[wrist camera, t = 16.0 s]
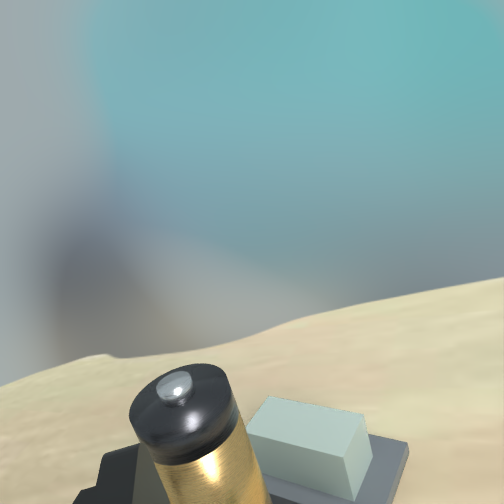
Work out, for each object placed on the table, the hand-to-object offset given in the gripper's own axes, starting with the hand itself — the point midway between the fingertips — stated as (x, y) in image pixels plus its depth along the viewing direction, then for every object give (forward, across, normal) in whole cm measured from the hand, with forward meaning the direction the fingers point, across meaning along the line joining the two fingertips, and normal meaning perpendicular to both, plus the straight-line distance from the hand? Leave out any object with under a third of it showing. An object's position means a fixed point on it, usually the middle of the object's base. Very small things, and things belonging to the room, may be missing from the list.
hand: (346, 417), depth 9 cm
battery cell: (+12, +5, +21) cm, 25 cm away
